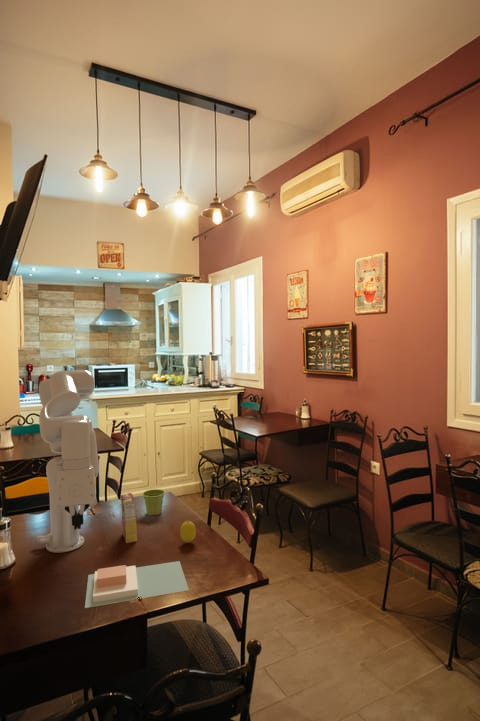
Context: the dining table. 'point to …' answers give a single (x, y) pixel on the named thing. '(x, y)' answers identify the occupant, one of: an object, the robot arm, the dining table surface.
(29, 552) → the dining table surface
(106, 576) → the terracotta tile
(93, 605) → the rubber mat
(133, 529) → the candy box
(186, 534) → the lemon
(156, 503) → the plant pot
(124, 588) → the block
